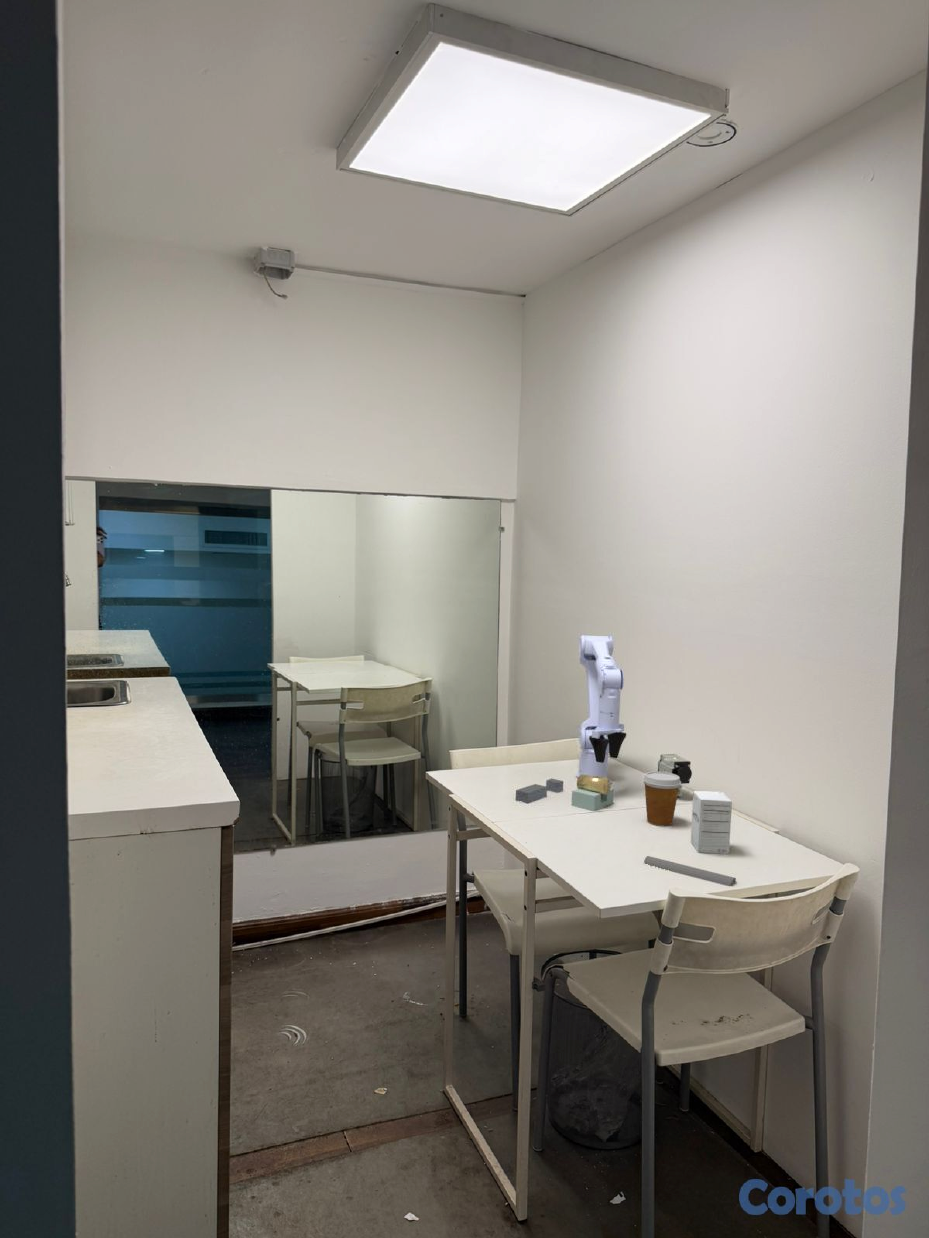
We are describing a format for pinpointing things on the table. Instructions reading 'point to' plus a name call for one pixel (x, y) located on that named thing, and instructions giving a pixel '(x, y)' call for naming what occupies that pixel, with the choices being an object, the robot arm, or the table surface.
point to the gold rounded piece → (594, 784)
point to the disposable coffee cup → (661, 797)
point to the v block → (591, 799)
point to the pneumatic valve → (676, 768)
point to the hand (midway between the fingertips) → (606, 759)
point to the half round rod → (690, 871)
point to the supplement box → (711, 822)
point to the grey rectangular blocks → (538, 790)
